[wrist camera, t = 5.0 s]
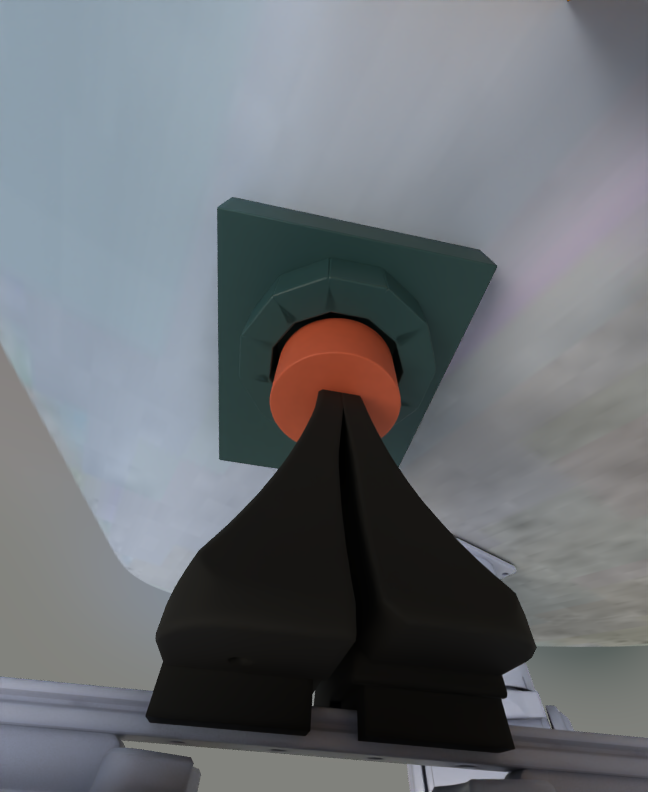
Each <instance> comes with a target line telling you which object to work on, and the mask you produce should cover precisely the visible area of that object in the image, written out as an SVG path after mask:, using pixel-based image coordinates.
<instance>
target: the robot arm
mask: <svg viewBox="0 0 648 792" xmlns="http://www.w3.org/2000/svg"><path fill="white" fill-rule="evenodd" d="M514 573H516V568H515V566H513V565H511V564H509V563H507V562H505V561H503V560H501V559H499V558H497V557H495V556H493V555H491V554H489V553H487V552H485V551H483V550H481V549H479V548H477V547H474V546H472V545H470V544H468V543H466V542H464V541H462V540H460V539H458V538H456V537H454V536H453V535H452V534H451V533H450V532H449V530H448V529H447V528H446V527H445V526H444V525H443V524H442V523H441V522H440V520H439V519H438V518H437V517H436V516H435V515H434V514H433V513H432V511H431V510H430V509H429V508H428V507H427V506H426V505H425V503H424V502H423V501H422V500H421V498H420V497H419V496H418V495H417V493H416V492H415V490H414V489H413V488H412V486H411V485H410V484H409V482H408V481H407V480H406V478H405V477H404V475H403V474H402V472H401V471H400V469H399V468H398V466H397V465H396V463H395V461H394V460H393V458H392V457H391V455H390V453H389V452H388V450H387V448H386V446H385V445H384V443H383V441H382V439H381V437H380V435H379V434H378V432H377V430H376V428H375V426H374V424H373V422H372V420H371V418H370V416H369V414H368V411H367V409H366V407H365V405H364V402H363V400H362V398H361V397H360V396H359V395H353V394H348V393H342V392H336V391H330V390H324V389H322V390H320V391H319V392H318V396H317V401H316V405H315V408H314V411H313V413H312V416H311V418H310V420H309V422H308V424H307V425H306V427H305V429H304V431H303V433H302V435H301V436H300V438H299V440H298V441H297V443H296V444H295V446H294V448H293V449H292V451H291V452H290V454H289V455H288V457H287V458H286V460H285V461H284V462H283V464H282V465H281V466H280V468H279V469H278V470H277V472H276V473H275V474H274V475H273V477H272V478H271V479H270V480H269V481H268V483H267V484H266V485H265V486H264V487H263V489H262V490H261V491H260V492H259V493H258V494H257V495H256V496H255V498H254V499H253V500H252V501H251V502H250V503H249V504H248V505H247V506H246V507H245V508H244V509H243V510H242V511H241V512H240V513H239V514H238V515H237V516H236V517H235V518H234V519H233V520H232V521H231V522H230V523H229V524H228V525H227V526H226V527H225V528H224V529H222V530H221V531H220V532H219V533H218V534H217V535H216V536H215V537H214V538H212V539H211V540H210V541H209V542H208V543H207V544H206V545H205V546H203V547H202V548H201V549H200V550H199V551H198V552H197V554H196V555H195V557H194V558H193V560H192V561H191V563H190V564H189V566H188V567H187V569H186V570H185V572H184V573H183V575H182V577H181V578H180V580H179V581H178V583H177V585H176V587H175V588H174V590H173V592H172V594H171V596H170V599H169V600H168V603H167V605H166V607H165V610H164V613H163V616H162V618H161V621H160V624H159V627H158V630H157V632H156V643H157V645H158V648H159V651H160V653H161V657H162V659H163V664H162V667H161V670H160V673H159V676H158V679H157V682H156V685H155V688H154V691H147V690H137V689H126V688H116V687H104V686H94V685H84V684H74V683H63V682H53V681H42V680H32V679H21V678H11V677H0V792H197V790H198V785H199V781H200V776H201V773H200V771H199V769H197V768H195V767H193V764H194V763H193V761H192V759H191V757H185V756H179V755H173V754H167V753H161V752H154V751H148V750H142V749H134V748H125V746H124V744H123V742H122V741H121V740H123V741H136V742H148V743H160V744H172V745H185V746H196V747H208V748H220V749H233V750H245V751H257V752H270V753H281V754H292V755H304V756H316V757H329V758H341V759H353V760H365V761H378V762H389V763H402V764H407V769H408V779H409V787H410V792H648V738H642V737H631V736H621V735H611V734H600V733H590V732H579V731H574V729H573V727H572V724H571V722H570V721H569V719H568V718H567V717H566V716H565V715H564V714H563V713H561V712H559V711H558V709H557V707H555V706H553V705H549V706H548V705H547V706H546V710H547V713H548V716H549V720H550V723H551V726H552V729H551V728H550V725H549V722H548V719H547V716H546V713H545V710H544V708H543V705H542V702H541V699H540V696H539V693H538V692H537V691H535V688H534V685H533V682H532V679H531V676H530V673H529V670H528V667H527V664H526V661H528V660H529V659H530V658H532V656H533V654H534V652H535V650H536V648H537V647H536V645H535V642H534V639H533V636H532V634H531V631H530V628H529V625H528V622H527V619H526V616H525V614H524V611H523V609H522V607H521V605H520V602H519V600H518V598H517V596H516V593H514V592H513V591H512V590H511V589H510V588H509V587H508V586H507V585H505V584H504V583H503V582H502V581H501V580H500V579H502V578H504V577H507V576H509V575H512V574H514ZM314 691H315V699H314V706H312V694H313V692H314Z"/></svg>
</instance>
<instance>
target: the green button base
mask: <svg viewBox="0 0 648 792" xmlns="http://www.w3.org/2000/svg"><path fill="white" fill-rule="evenodd" d="M217 234H218V355H219V459H220V460H224V461H231V462H238V463H244V464H251V465H258V466H264V467H271V468H278V469H279V468H280V466H281V465H282V464H283V462H284V461H285V460H286V458H287V457H288V455H289V454H290V452H291V451H292V449H293V448H294V446H295V444H296V443H297V442H295V441H294V440H292V439H291V438H289V437H288V436H287V435H286V434H285V433H284V432H283V431H282V430H281V429H280V428H279V426H278V425H277V424H276V422H275V420H274V418H273V416H272V412H271V409H270V393H271V389H272V385H273V381H274V377H275V373H276V370H277V366H278V362H279V358H280V354H281V352H282V349H283V347H284V345H285V343H286V342H287V340H288V339H289V338H290V337H291V336H292V335H293V334H294V333H295V332H296V331H297V330H299V329H300V328H301V327H303V326H305V325H307V324H309V323H311V322H314V321H317V320H321V319H327V318H345V319H350V320H354V321H358V322H360V323H363V324H365V325H367V326H368V327H370V328H372V329H373V330H374V331H376V332H377V333H378V334H379V335H380V336H381V337H382V338H383V340H384V341H385V342H386V344H387V346H388V347H389V349H390V352H391V355H392V359H393V364H394V369H395V373H396V378H397V382H398V387H399V392H400V397H401V407H400V412H399V415H398V418H397V420H396V422H395V424H394V425H393V427H392V428H391V430H390V431H389V432H388V433H387V434H386V435H385V436H383V437H382V438H381V439H382V441H383V443H384V445H385V446H386V448H387V450H388V452H389V453H390V455H391V457H392V458H393V460H394V461H395V463H396V465H397V466H398V467H399V465H400V463H401V461H402V459H403V457H404V455H405V453H406V451H407V449H408V447H409V445H410V443H411V441H412V438H413V436H414V434H415V432H416V430H417V428H418V426H419V424H420V422H421V420H422V418H423V416H424V414H425V412H426V410H427V408H428V406H429V404H430V402H431V400H432V398H433V396H434V394H435V392H436V390H437V388H438V386H439V384H440V382H441V380H442V378H443V376H444V374H445V372H446V370H447V368H448V366H449V364H450V362H451V359H452V357H453V355H454V353H455V351H456V349H457V347H458V345H459V343H460V341H461V339H462V337H463V335H464V333H465V331H466V329H467V327H468V325H469V323H470V321H471V319H472V317H473V315H474V313H475V311H476V309H477V307H478V305H479V303H480V301H481V299H482V297H483V295H484V293H485V291H486V289H487V287H488V285H489V283H490V280H491V278H492V276H493V274H494V272H495V270H496V268H497V265H496V264H495V263H494V262H492V261H491V260H490V259H489V258H488V257H487V256H486V255H485V254H484V253H483V252H482V251H480V250H478V249H473V248H468V247H464V246H459V245H454V244H450V243H445V242H440V241H436V240H431V239H426V238H422V237H417V236H412V235H408V234H403V233H398V232H394V231H389V230H384V229H379V228H375V227H370V226H365V225H361V224H356V223H351V222H347V221H342V220H337V219H333V218H328V217H323V216H319V215H314V214H309V213H305V212H300V211H295V210H291V209H286V208H281V207H276V206H272V205H267V204H262V203H258V202H253V201H248V200H244V199H239V198H234V197H232V198H230V199H229V200H227V201H226V202H224V203H223V204H221V205H220V206H219V207H218V208H217Z"/></svg>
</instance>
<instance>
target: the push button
mask: <svg viewBox="0 0 648 792" xmlns="http://www.w3.org/2000/svg"><path fill="white" fill-rule="evenodd" d="M322 389H324V390H330V391H336V392H342V393H348V394H353V395H359V396H360V397H361V398H362V400H363V402H364V405H365V407H366V409H367V411H368V414H369V416H370V418H371V420H372V422H373V424H374V426H375V428H376V430H377V432H378V434H379V435H380V437H381V438H382V437H383V436H385V435H386V434H387V433H388V432H389V431H390V430H391V428H392V427H393V425H394V424H395V422H396V420H397V418H398V415H399V412H400V407H401V397H400V392H399V387H398V382H397V378H396V373H395V369H394V364H393V359H392V355H391V352H390V349H389V347H388V346H387V344H386V342H385V341H384V340H383V338H382V337H381V336H380V335H379V334H378V333H377V332H376V331H374V330H373V329H372V328H370V327H368V326H367V325H365V324H363V323H360V322H358V321H354V320H350V319H345V318H327V319H321V320H317V321H314V322H311V323H309V324H307V325H305V326H303V327H301V328H300V329H299V330H297V331H296V332H295V333H294V334H293V335H292V336H291V337H290V338H289V339H288V340H287V342H286V343H285V345H284V347H283V349H282V352H281V354H280V358H279V362H278V366H277V370H276V373H275V377H274V381H273V385H272V389H271V393H270V409H271V412H272V416H273V418H274V420H275V422H276V424H277V425H278V426H279V428H280V429H281V430H282V431H283V432H284V433H285V434H286V435H287V436H288V437H289V438H291V439H292V440H294V441H295V442H297V441H298V440H299V438H300V436H301V435H302V433H303V431H304V429H305V427H306V425H307V424H308V422H309V420H310V418H311V416H312V413H313V411H314V408H315V405H316V401H317V396H318V392H319V391H320V390H322Z"/></svg>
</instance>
